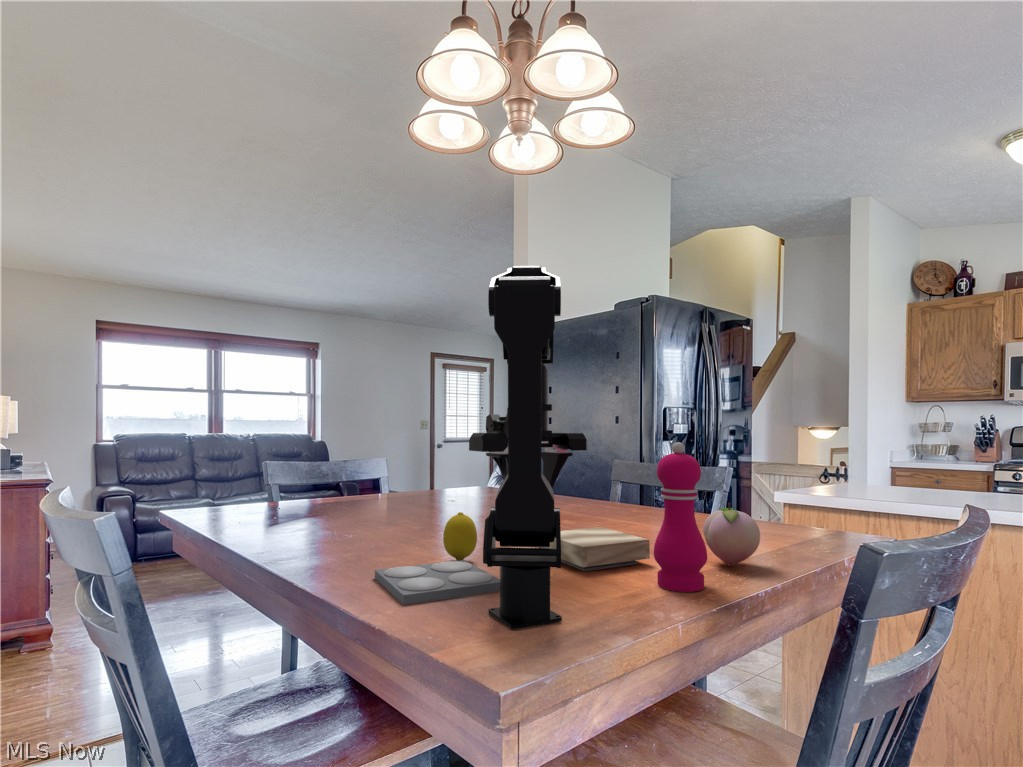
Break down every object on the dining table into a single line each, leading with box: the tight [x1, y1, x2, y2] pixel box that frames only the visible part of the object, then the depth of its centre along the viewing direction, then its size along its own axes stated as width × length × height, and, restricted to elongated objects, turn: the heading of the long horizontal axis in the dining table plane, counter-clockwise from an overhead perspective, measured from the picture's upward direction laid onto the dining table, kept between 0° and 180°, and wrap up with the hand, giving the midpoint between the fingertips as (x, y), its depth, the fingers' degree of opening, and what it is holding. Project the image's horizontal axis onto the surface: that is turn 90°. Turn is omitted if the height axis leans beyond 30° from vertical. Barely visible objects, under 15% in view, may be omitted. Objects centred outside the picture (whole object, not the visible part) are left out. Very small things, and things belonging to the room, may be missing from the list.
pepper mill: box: [653, 441, 708, 593], centre depth 80 cm, size 7×7×20 cm
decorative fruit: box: [702, 502, 761, 567], centre depth 92 cm, size 9×8×10 cm
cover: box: [538, 526, 651, 567], centre depth 95 cm, size 13×13×3 cm
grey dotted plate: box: [561, 559, 639, 572], centre depth 94 cm, size 10×10×1 cm
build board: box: [374, 559, 500, 606], centre depth 80 cm, size 14×14×1 cm
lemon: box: [442, 511, 478, 561], centre depth 93 cm, size 6×6×8 cm
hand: (529, 497), depth 90 cm, fingers open, 6 cm apart
